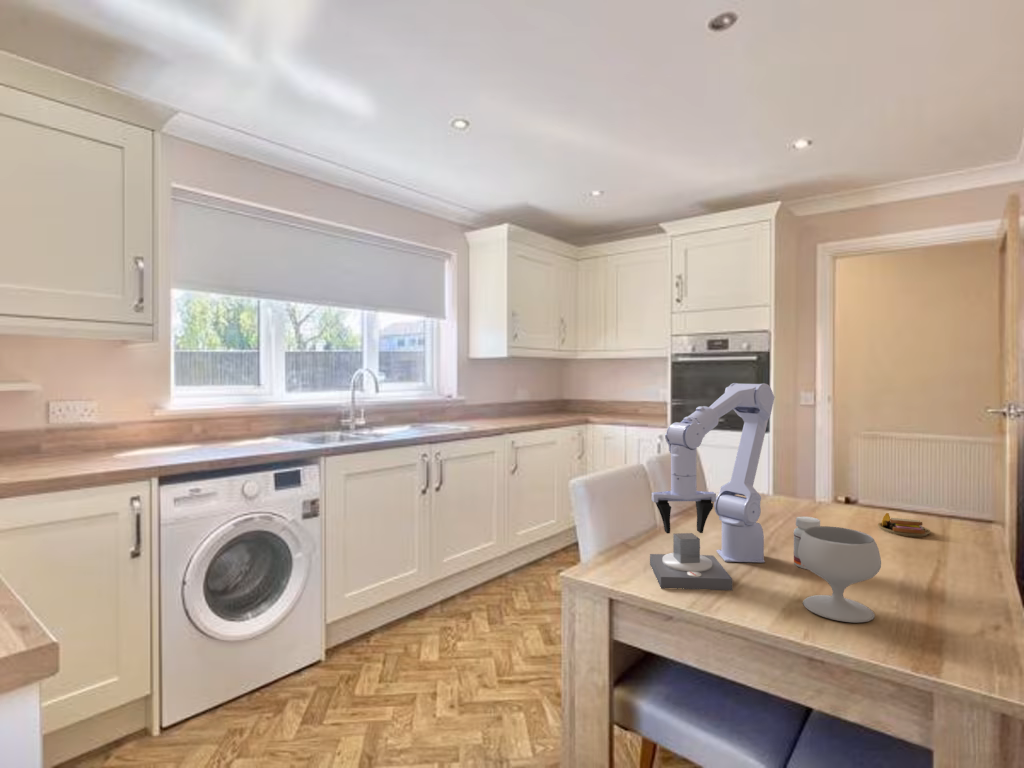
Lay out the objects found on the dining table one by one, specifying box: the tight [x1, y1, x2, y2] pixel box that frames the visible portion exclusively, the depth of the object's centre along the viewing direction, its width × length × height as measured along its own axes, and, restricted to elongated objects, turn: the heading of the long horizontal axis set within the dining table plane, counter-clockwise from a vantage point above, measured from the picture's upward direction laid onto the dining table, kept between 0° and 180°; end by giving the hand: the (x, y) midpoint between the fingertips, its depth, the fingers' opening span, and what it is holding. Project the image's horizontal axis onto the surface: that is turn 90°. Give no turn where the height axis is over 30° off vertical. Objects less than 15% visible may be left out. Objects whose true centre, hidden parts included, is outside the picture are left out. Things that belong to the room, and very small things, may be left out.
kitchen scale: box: [649, 552, 733, 591], centre depth 126 cm, size 15×15×3 cm
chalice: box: [798, 525, 882, 624], centre depth 108 cm, size 14×14×15 cm
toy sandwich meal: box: [877, 512, 931, 538], centre depth 160 cm, size 12×14×5 cm
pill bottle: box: [793, 516, 821, 571], centre depth 132 cm, size 6×6×11 cm
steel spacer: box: [672, 532, 701, 563], centre depth 128 cm, size 4×4×6 cm
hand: (683, 532), depth 129 cm, fingers open, 7 cm apart
